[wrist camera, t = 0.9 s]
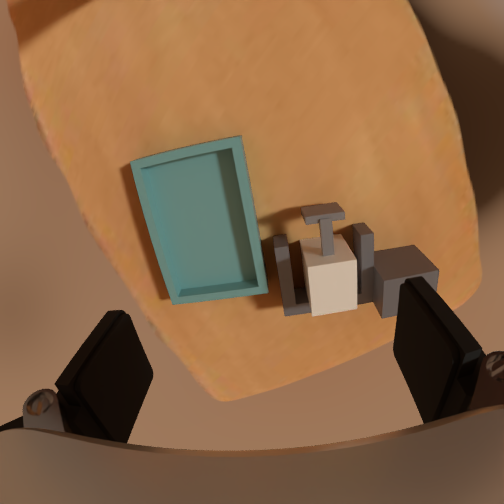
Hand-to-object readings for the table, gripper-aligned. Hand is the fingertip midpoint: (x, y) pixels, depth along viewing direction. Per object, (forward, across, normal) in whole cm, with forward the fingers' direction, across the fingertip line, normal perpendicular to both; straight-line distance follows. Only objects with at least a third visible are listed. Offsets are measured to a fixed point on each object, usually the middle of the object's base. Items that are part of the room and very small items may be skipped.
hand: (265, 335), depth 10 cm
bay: (+26, -9, +10) cm, 30 cm away
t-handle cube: (+26, -5, +7) cm, 28 cm away
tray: (+26, +8, +3) cm, 27 cm away
